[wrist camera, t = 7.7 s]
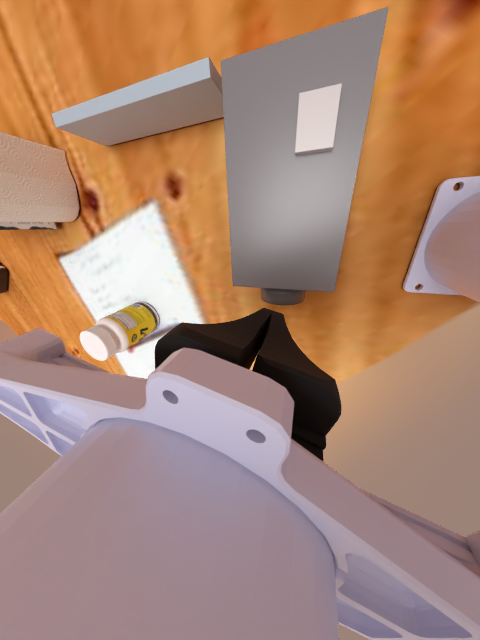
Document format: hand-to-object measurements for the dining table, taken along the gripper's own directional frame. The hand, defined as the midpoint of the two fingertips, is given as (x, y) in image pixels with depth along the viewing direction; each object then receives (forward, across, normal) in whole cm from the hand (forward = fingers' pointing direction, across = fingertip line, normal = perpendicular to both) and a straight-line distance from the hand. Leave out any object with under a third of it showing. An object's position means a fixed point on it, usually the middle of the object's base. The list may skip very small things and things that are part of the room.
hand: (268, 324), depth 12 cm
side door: (+9, +15, -11) cm, 21 cm away
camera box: (+9, +2, -7) cm, 12 cm away
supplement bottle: (+10, +18, +11) cm, 23 cm away
